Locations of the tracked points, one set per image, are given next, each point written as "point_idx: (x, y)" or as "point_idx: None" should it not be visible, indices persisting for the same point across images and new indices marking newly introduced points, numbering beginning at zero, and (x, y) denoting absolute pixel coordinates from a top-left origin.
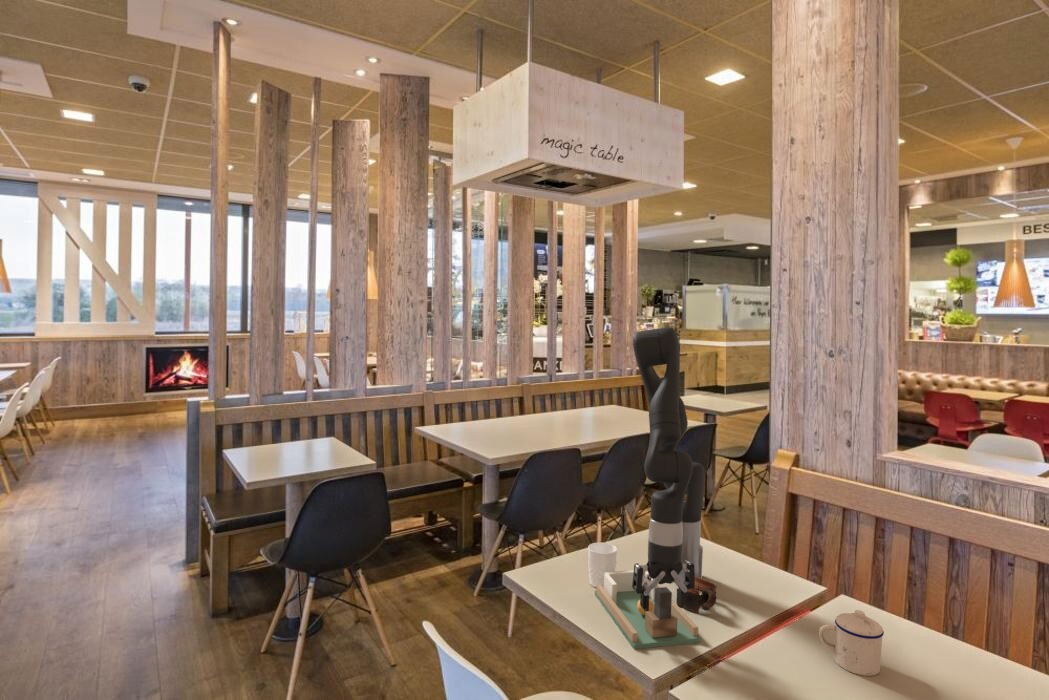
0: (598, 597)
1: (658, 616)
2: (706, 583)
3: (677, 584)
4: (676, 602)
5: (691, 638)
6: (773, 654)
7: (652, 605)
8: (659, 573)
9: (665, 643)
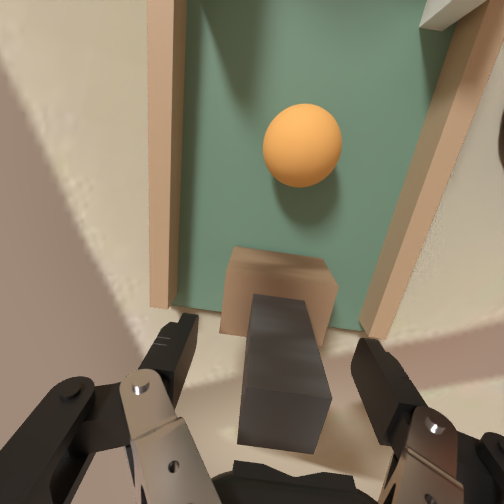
0: None
1: (247, 333)
2: None
3: (380, 500)
4: (365, 339)
5: (343, 327)
6: (491, 410)
7: (319, 180)
8: None
9: None
